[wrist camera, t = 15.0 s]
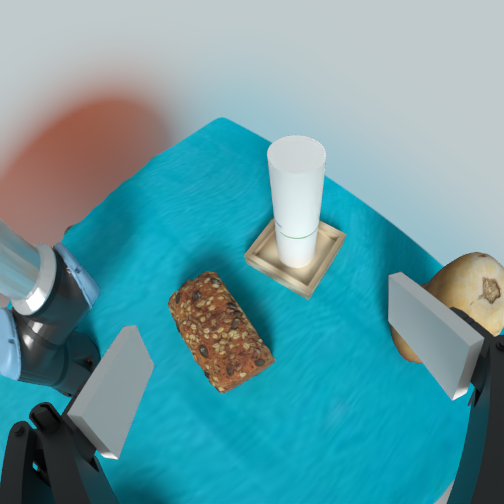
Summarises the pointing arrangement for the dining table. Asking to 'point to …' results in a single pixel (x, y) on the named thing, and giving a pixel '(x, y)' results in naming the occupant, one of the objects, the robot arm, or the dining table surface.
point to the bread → (218, 332)
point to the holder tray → (295, 279)
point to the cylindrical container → (296, 196)
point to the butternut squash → (466, 294)
